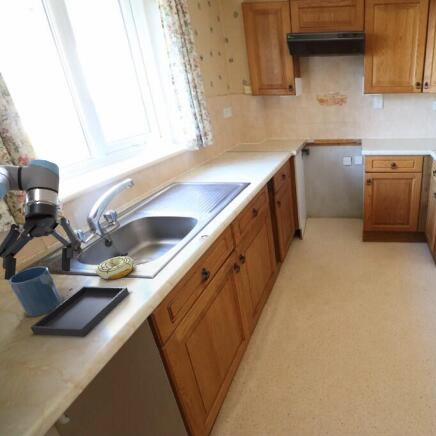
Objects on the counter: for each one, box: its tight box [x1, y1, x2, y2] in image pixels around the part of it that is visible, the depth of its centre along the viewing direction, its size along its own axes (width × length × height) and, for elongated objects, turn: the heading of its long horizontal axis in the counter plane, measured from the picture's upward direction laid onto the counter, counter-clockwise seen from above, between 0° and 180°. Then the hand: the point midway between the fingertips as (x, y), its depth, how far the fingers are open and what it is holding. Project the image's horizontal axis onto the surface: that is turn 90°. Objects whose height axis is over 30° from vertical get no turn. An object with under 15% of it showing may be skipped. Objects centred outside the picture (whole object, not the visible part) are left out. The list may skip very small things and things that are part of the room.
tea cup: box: [7, 265, 64, 317], centre depth 90 cm, size 8×8×11 cm
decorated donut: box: [95, 255, 135, 281], centre depth 106 cm, size 10×11×4 cm
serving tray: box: [29, 285, 130, 338], centre depth 89 cm, size 17×14×2 cm
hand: (38, 275), depth 92 cm, fingers open, 13 cm apart
